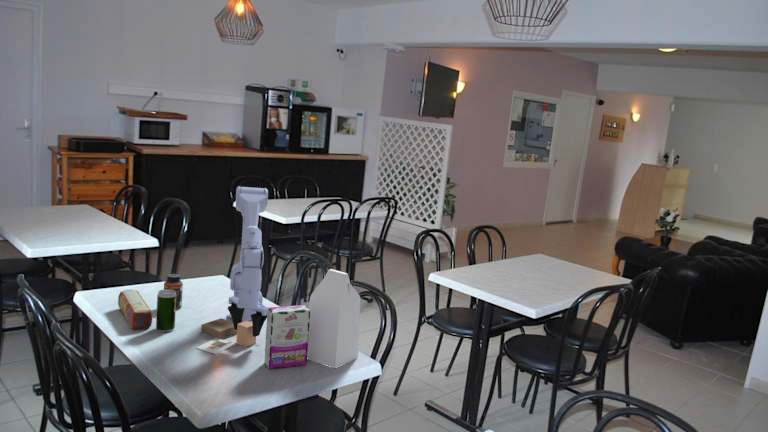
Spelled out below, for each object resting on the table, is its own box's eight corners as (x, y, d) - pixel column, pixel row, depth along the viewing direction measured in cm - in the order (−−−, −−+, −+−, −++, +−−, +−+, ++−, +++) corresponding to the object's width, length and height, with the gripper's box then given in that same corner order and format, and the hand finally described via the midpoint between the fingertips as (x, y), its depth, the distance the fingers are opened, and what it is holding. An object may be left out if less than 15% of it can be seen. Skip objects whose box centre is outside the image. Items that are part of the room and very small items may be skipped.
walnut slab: (220, 327, 193) (221, 318, 192) (238, 334, 189) (239, 325, 188) (201, 333, 186) (201, 324, 186) (219, 341, 182) (220, 331, 182)
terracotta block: (245, 339, 184) (247, 320, 183) (255, 343, 182) (256, 324, 181) (236, 343, 181) (237, 323, 180) (246, 346, 179) (247, 327, 178)
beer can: (158, 333, 182) (159, 295, 180) (154, 327, 186) (155, 289, 184) (176, 331, 185) (178, 293, 183) (172, 325, 189) (173, 288, 187)
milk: (301, 356, 176) (309, 270, 172) (325, 345, 186) (333, 263, 181) (335, 369, 170) (343, 280, 166) (358, 357, 180) (366, 272, 175)
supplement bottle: (185, 308, 205) (187, 275, 203) (170, 312, 200) (172, 279, 198) (173, 303, 208) (175, 271, 206) (159, 307, 203) (160, 274, 201)
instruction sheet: (216, 338, 182) (216, 337, 182) (235, 344, 180) (235, 343, 180) (196, 348, 174) (196, 347, 174) (216, 354, 172) (216, 353, 172)
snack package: (153, 329, 185) (154, 308, 184) (130, 332, 181) (130, 310, 180) (138, 307, 202) (139, 287, 201) (117, 309, 199) (117, 289, 198)
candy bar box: (300, 358, 175) (305, 304, 172) (307, 365, 170) (311, 310, 168) (262, 362, 170) (267, 306, 167) (268, 370, 165) (272, 312, 162)
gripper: (222, 285, 179) (219, 328, 181) (258, 297, 172) (255, 342, 174) (239, 280, 185) (236, 323, 187) (275, 292, 178) (271, 336, 180)
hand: (246, 332), depth 181 cm, fingers open, 7 cm apart
